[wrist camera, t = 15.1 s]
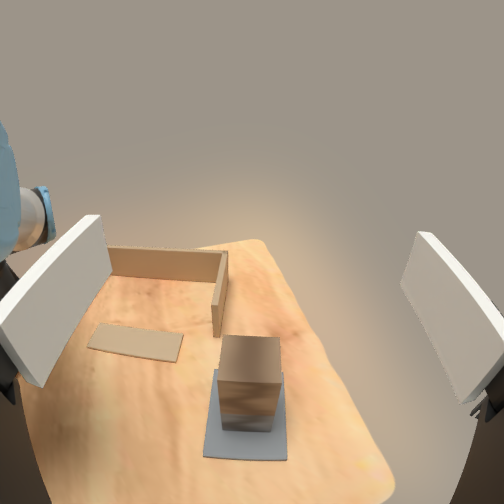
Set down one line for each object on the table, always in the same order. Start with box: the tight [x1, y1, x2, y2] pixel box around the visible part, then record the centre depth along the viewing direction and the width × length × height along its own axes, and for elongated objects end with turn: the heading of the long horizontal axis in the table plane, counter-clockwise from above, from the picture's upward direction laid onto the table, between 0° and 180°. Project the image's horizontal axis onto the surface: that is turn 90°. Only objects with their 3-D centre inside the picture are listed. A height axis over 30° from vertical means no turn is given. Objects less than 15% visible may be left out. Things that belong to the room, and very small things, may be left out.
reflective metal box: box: [217, 335, 282, 432], centre depth 30 cm, size 6×6×12 cm
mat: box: [203, 369, 287, 461], centre depth 34 cm, size 10×14×1 cm
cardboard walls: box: [87, 245, 228, 363], centre depth 48 cm, size 28×22×7 cm
